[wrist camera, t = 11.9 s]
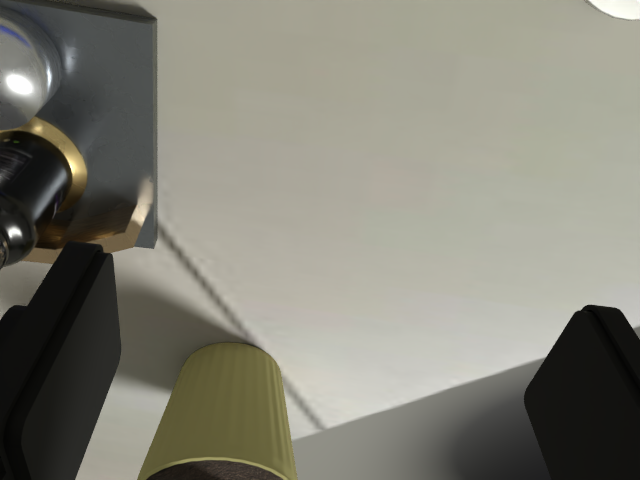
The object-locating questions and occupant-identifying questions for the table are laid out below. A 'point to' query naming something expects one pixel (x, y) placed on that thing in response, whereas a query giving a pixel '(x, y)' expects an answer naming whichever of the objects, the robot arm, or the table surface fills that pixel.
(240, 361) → the potted cactus
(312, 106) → the table surface
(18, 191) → the supplement bottle
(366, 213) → the table surface
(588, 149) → the table surface
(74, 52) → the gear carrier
